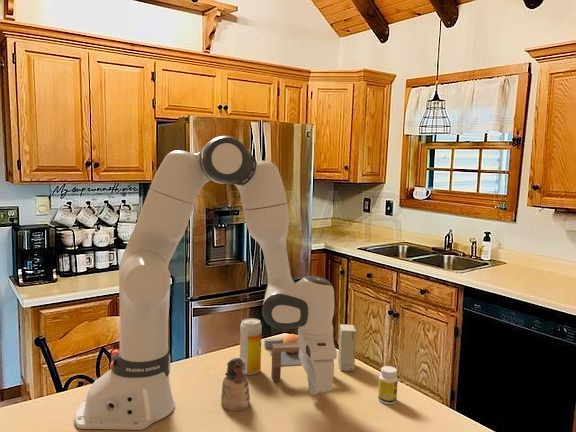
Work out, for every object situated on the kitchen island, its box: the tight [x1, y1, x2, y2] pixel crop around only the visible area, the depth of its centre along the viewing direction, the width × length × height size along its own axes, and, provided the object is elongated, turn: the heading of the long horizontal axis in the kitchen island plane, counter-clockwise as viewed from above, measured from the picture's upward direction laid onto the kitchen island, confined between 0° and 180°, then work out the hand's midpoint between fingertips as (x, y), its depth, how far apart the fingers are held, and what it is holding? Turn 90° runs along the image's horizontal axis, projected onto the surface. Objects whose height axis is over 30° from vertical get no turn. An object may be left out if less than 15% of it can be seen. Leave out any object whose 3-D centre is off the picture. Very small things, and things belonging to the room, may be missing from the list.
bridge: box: [270, 343, 299, 382], centre depth 133 cm, size 3×17×10 cm, turn 102°
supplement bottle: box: [377, 365, 399, 405], centre depth 122 cm, size 5×5×8 cm
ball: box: [283, 333, 298, 353], centre depth 151 cm, size 6×6×6 cm
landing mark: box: [268, 349, 302, 367], centre depth 147 cm, size 12×12×1 cm
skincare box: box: [338, 323, 357, 372], centre depth 141 cm, size 6×4×12 cm
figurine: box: [220, 357, 251, 412], centre depth 117 cm, size 7×7×12 cm
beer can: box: [239, 317, 263, 376], centre depth 136 cm, size 6×6×15 cm
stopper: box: [263, 337, 285, 350], centre depth 156 cm, size 14×2×2 cm, turn 102°
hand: (312, 392), depth 121 cm, fingers closed
